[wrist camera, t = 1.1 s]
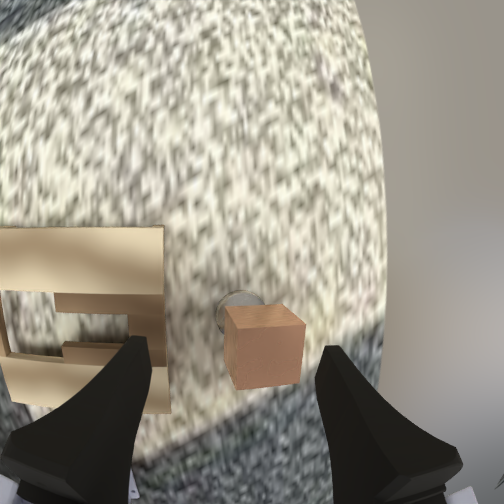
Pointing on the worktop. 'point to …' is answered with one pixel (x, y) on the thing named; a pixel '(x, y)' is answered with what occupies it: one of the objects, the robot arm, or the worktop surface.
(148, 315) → the tan piece
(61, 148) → the worktop surface
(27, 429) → the robot arm
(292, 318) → the headed peg
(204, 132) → the worktop surface
